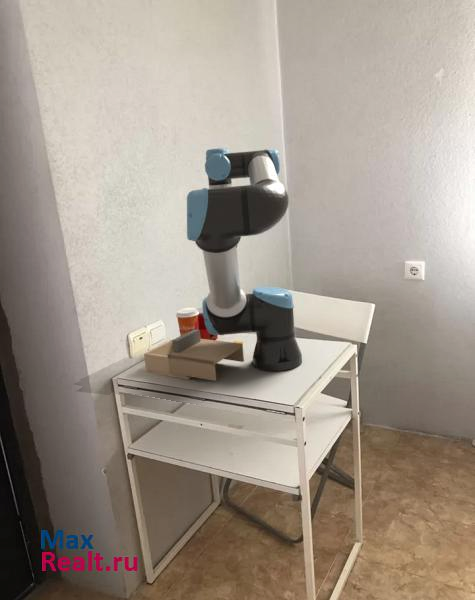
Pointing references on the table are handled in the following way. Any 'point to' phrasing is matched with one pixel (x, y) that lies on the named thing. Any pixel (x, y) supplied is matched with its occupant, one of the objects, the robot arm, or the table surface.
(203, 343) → the box lid
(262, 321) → the robot arm
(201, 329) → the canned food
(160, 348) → the box
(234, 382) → the table surface
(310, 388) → the table surface
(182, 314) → the paper cup
